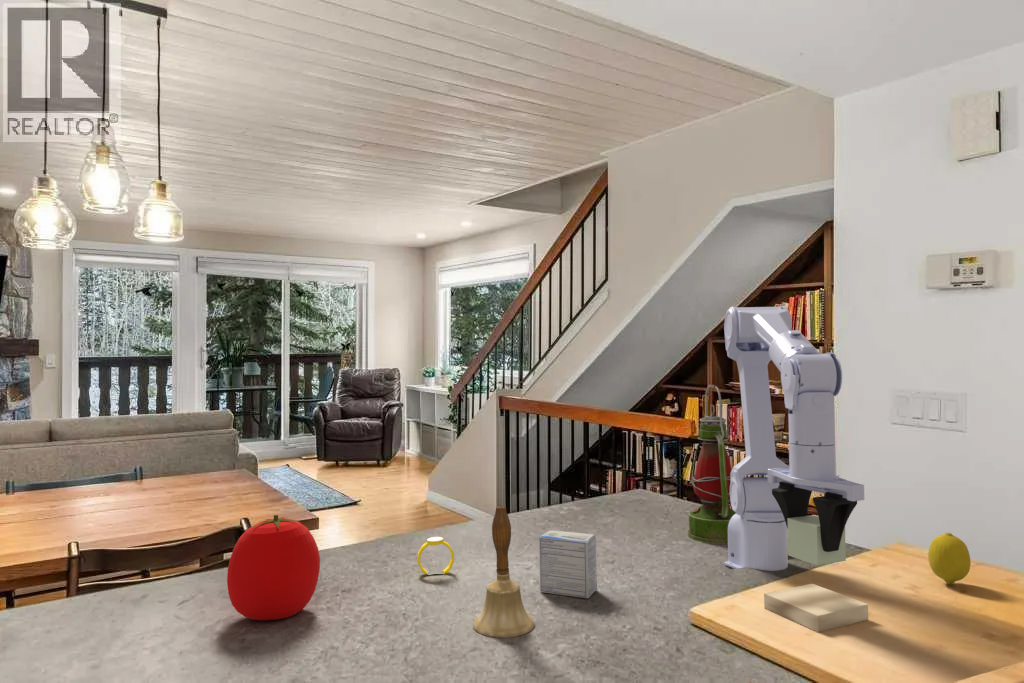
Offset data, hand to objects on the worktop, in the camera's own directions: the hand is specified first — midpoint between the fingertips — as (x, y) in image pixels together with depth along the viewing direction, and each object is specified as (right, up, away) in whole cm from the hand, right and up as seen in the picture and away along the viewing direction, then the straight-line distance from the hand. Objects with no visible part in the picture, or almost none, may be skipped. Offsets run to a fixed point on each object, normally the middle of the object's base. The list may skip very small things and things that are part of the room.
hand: (813, 545), depth 92 cm
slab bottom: (0, -11, 0) cm, 11 cm away
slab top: (0, -9, 0) cm, 9 cm away
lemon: (+27, -11, +15) cm, 33 cm away
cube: (0, -2, 0) cm, 2 cm away
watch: (-53, -12, +23) cm, 59 cm away
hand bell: (-42, -11, +1) cm, 43 cm away
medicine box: (-32, -11, +13) cm, 36 cm away
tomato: (-74, -12, +5) cm, 75 cm away
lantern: (0, -12, +44) cm, 46 cm away
